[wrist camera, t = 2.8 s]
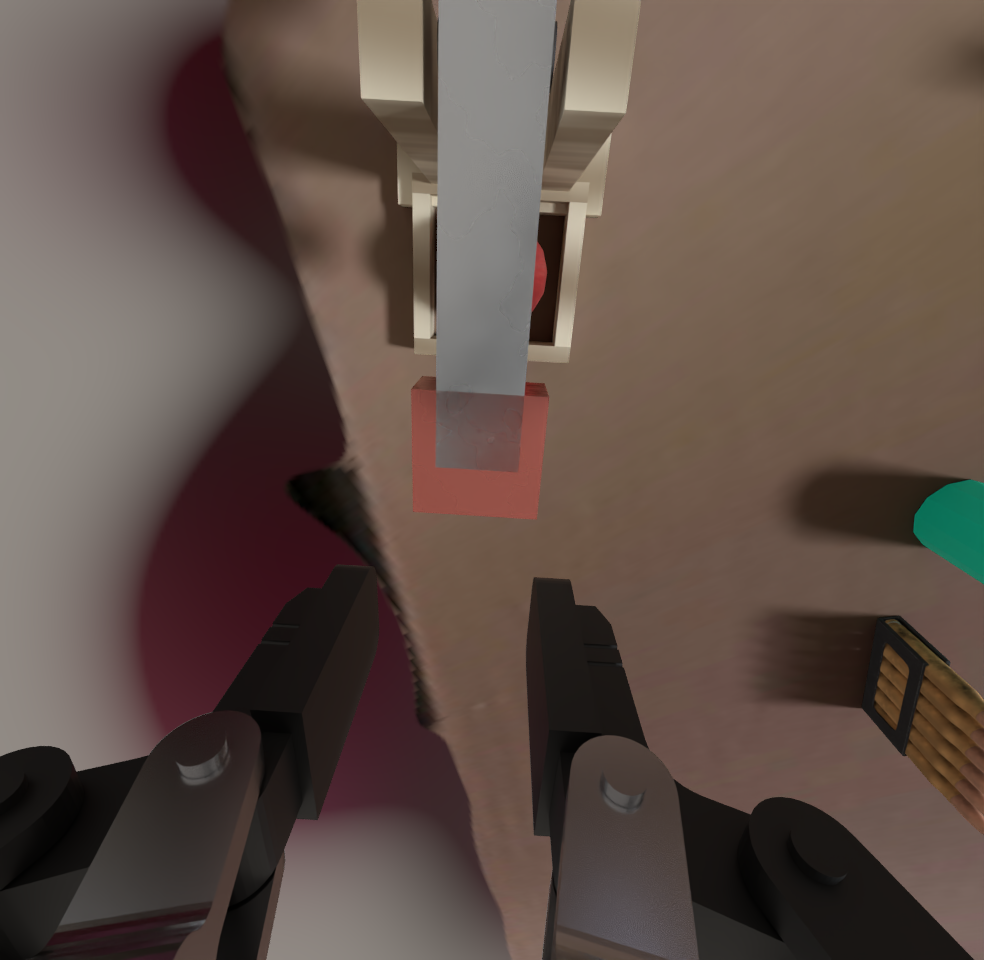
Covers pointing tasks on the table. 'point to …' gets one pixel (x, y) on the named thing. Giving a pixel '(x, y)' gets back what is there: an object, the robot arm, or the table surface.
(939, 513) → the candle
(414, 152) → the press stand
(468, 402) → the lever
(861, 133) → the table surface
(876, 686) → the ammunition clip
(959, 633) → the table surface
